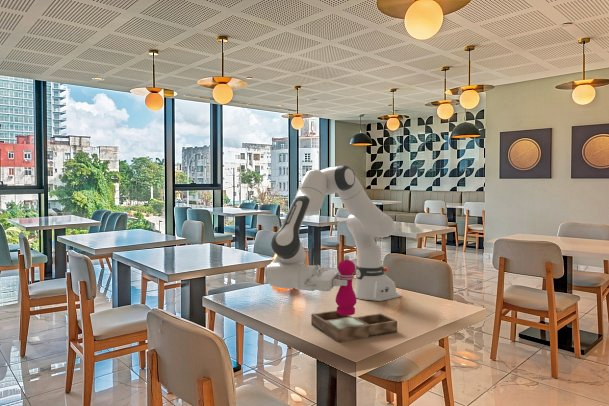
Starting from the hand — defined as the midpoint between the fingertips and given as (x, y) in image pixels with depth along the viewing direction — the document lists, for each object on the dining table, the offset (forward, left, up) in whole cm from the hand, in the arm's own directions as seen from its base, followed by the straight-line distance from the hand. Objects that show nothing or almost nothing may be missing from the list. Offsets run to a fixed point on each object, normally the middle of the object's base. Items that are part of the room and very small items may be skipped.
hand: (348, 280), depth 152 cm
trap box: (-5, -6, -19) cm, 21 cm away
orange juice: (-5, -70, -19) cm, 73 cm away
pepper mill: (+1, 0, -11) cm, 12 cm away
